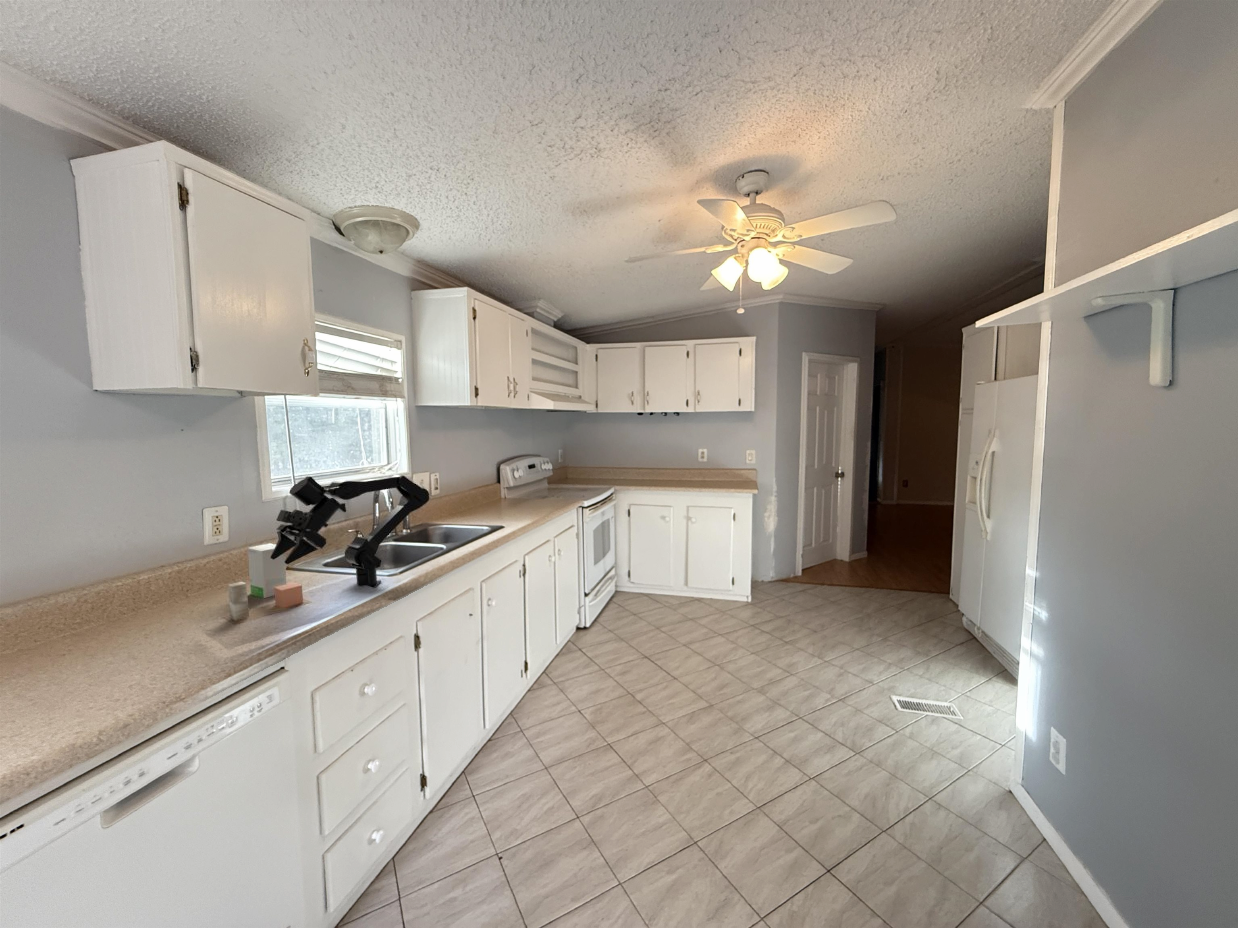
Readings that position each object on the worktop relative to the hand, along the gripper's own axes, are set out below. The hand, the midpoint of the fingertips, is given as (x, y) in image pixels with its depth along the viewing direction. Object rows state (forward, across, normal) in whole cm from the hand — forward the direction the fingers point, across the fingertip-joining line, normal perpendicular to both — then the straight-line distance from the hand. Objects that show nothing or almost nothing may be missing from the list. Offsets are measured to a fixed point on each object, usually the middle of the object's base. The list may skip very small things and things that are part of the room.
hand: (278, 561), depth 135 cm
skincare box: (+8, -16, +12) cm, 22 cm away
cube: (+8, 0, +10) cm, 13 cm away
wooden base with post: (+12, 0, +8) cm, 14 cm away
